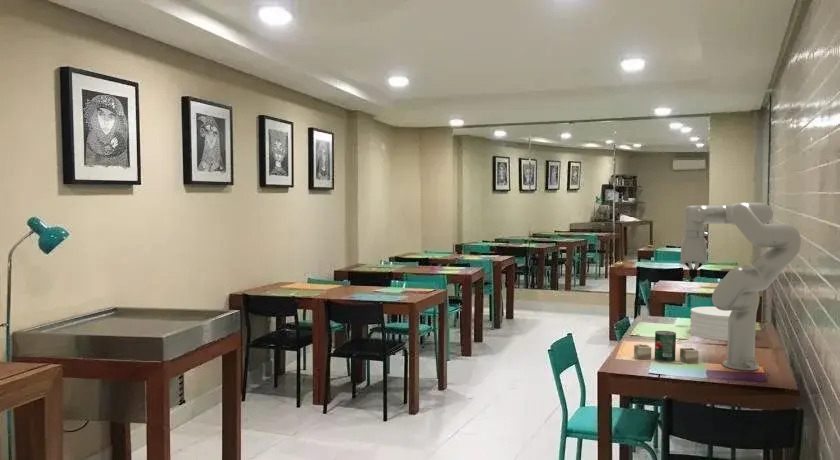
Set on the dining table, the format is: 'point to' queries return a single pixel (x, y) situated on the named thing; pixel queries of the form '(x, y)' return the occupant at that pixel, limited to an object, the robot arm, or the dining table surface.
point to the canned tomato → (665, 346)
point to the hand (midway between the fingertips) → (693, 278)
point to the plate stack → (709, 323)
